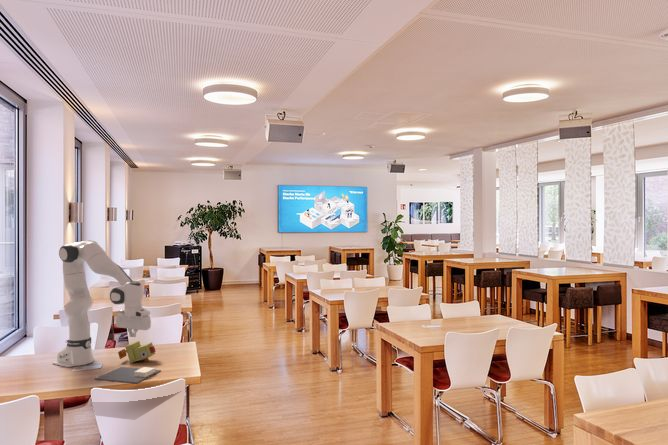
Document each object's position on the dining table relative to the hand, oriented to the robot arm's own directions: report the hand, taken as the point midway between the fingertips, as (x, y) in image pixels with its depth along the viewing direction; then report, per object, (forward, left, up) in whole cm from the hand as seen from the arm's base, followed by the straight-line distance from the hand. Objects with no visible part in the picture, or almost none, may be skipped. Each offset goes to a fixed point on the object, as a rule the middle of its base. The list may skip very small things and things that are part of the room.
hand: (132, 336), depth 265 cm
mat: (0, -4, -20) cm, 20 cm away
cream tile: (+5, -2, -18) cm, 19 cm away
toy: (-12, +19, -20) cm, 30 cm away
